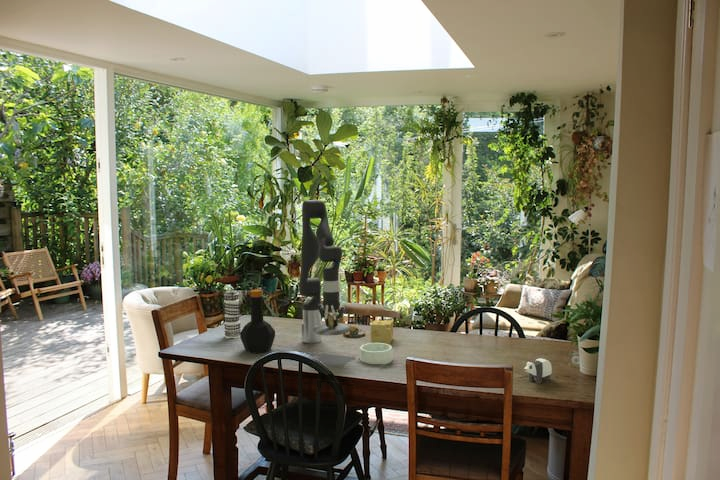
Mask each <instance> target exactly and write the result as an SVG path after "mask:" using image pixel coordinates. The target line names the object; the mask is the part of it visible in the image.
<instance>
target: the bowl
mask: <svg viewBox="0 0 720 480" xmlns="http://www.w3.org/2000/svg"><path fill="white" fill-rule="evenodd" d="M359 359H360V362H363V363H364V364H370V365H381V364H382V365H387V364H390V363H391V362H393V347H392V345H391V344H385V343H371V342H368V343H364V344H361V345H360V347H359Z"/></svg>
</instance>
